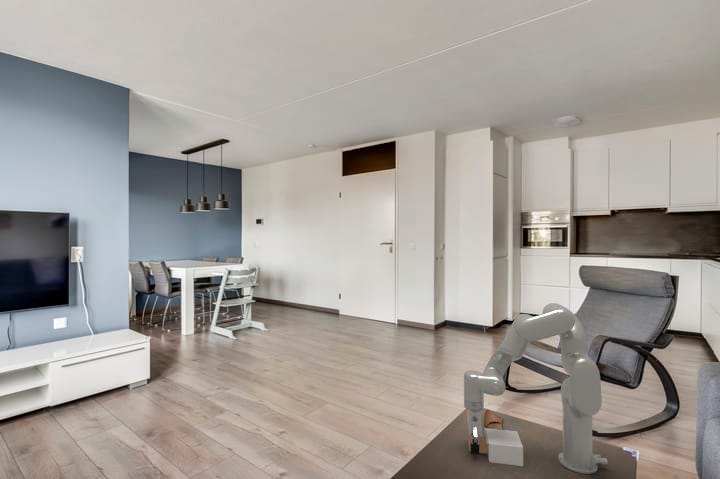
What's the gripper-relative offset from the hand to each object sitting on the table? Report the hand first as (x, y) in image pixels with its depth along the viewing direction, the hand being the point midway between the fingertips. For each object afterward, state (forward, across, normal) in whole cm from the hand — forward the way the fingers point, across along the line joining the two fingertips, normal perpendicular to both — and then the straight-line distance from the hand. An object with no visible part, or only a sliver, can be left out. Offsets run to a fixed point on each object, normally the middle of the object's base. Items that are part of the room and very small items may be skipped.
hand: (474, 446), depth 147 cm
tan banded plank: (+2, 0, -5) cm, 5 cm away
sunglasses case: (+3, +24, -10) cm, 26 cm away
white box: (+2, 0, -11) cm, 11 cm away
